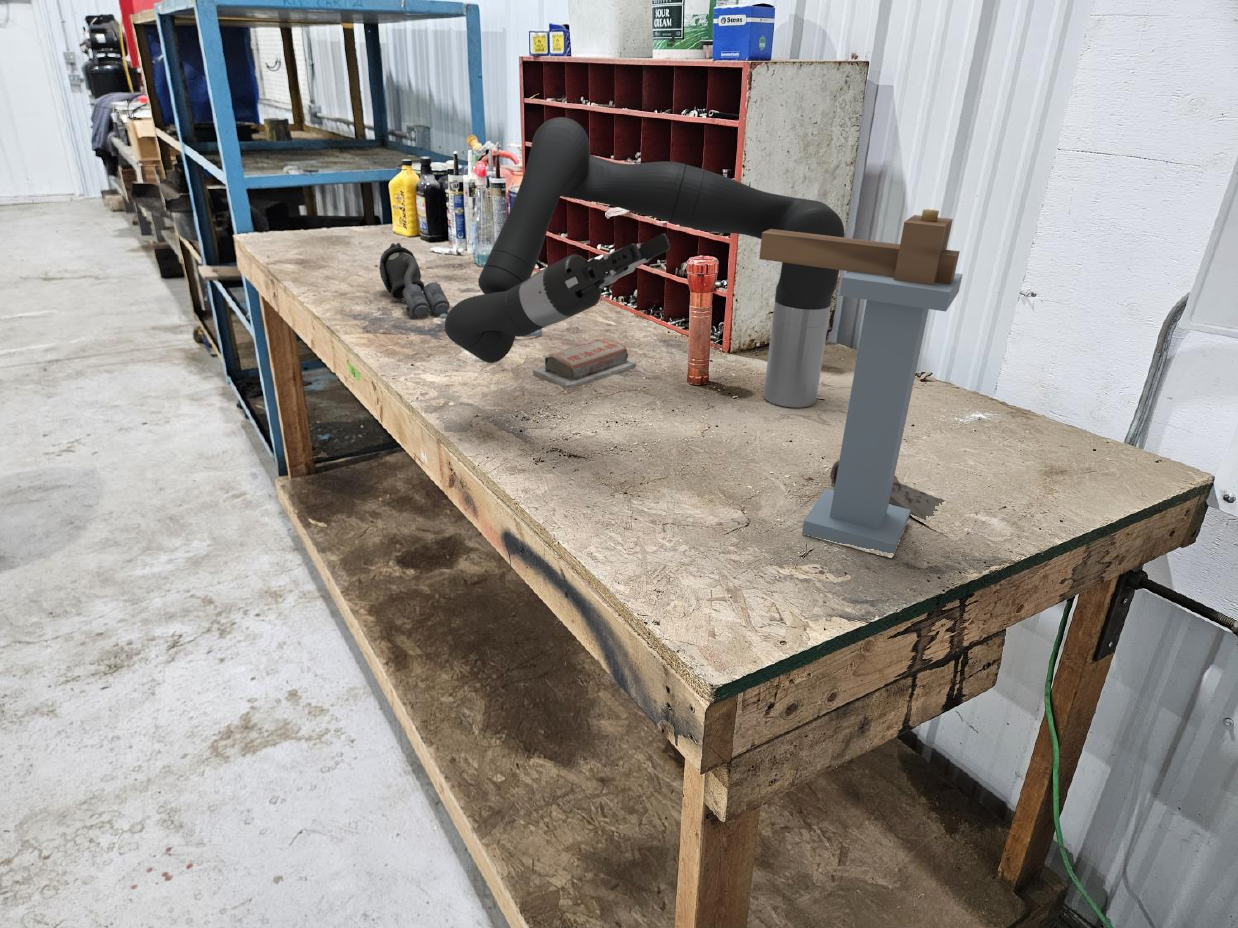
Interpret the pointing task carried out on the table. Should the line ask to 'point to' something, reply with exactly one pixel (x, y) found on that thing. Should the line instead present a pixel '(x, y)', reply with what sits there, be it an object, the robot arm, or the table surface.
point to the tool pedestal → (877, 411)
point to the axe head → (905, 497)
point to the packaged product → (584, 363)
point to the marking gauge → (873, 251)
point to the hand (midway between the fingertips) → (653, 245)
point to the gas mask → (410, 283)
